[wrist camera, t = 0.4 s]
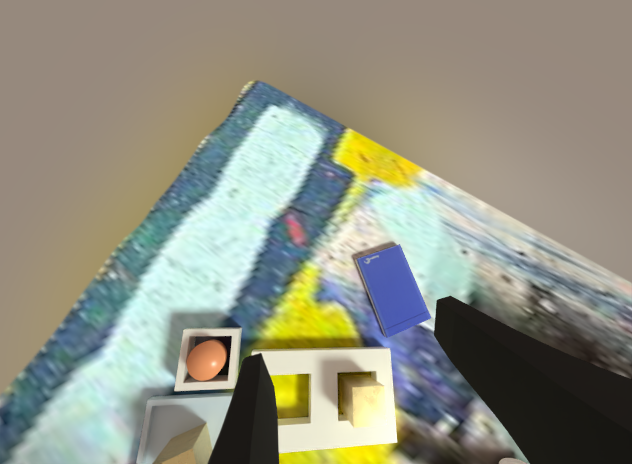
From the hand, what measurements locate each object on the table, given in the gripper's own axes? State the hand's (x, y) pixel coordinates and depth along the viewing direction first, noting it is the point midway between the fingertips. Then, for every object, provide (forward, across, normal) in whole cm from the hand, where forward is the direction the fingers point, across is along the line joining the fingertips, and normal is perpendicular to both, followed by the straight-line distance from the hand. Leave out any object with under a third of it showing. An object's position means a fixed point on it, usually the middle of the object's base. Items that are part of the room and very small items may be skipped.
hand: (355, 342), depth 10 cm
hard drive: (+23, -13, +20) cm, 33 cm away
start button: (+18, +14, +17) cm, 28 cm away
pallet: (+14, +2, +26) cm, 30 cm away
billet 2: (+14, -3, +27) cm, 31 cm away
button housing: (+19, +14, +18) cm, 30 cm away
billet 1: (+12, +18, +25) cm, 33 cm away
